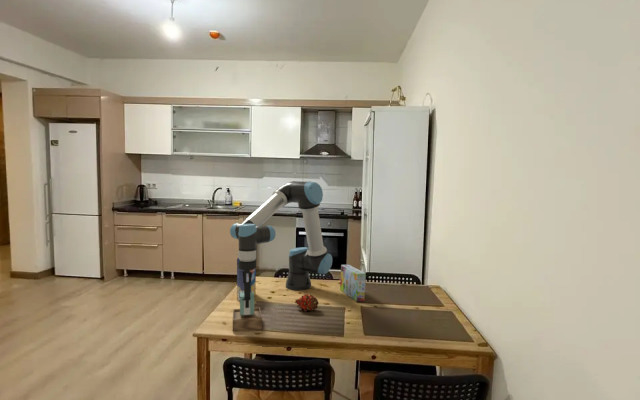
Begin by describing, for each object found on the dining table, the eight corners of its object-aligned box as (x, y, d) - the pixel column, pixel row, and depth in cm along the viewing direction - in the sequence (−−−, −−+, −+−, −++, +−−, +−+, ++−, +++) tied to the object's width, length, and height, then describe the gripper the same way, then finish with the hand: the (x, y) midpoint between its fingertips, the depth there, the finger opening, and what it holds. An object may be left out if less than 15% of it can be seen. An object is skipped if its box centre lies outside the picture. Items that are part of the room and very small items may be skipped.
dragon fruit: (319, 315, 173) (296, 316, 176) (322, 300, 179) (299, 301, 182) (315, 305, 168) (291, 306, 171) (317, 290, 174) (294, 291, 177)
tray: (259, 318, 164) (260, 307, 164) (261, 329, 152) (261, 317, 152) (233, 319, 162) (233, 309, 161) (232, 331, 150) (232, 319, 150)
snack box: (365, 300, 190) (366, 273, 189) (356, 302, 188) (357, 274, 187) (348, 289, 210) (348, 263, 209) (339, 290, 208) (340, 264, 207)
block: (253, 309, 160) (253, 291, 160) (254, 314, 154) (254, 296, 154) (239, 310, 159) (240, 292, 158) (239, 315, 153) (240, 297, 153)
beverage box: (255, 293, 198) (255, 254, 196) (249, 300, 187) (249, 259, 185) (243, 293, 199) (243, 254, 197) (236, 299, 188) (237, 258, 186)
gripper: (238, 255, 164) (238, 304, 165) (238, 265, 145) (237, 320, 146) (255, 254, 165) (254, 303, 167) (257, 264, 147) (256, 319, 148)
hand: (246, 311), depth 157 cm, fingers closed on block, 6 cm apart
